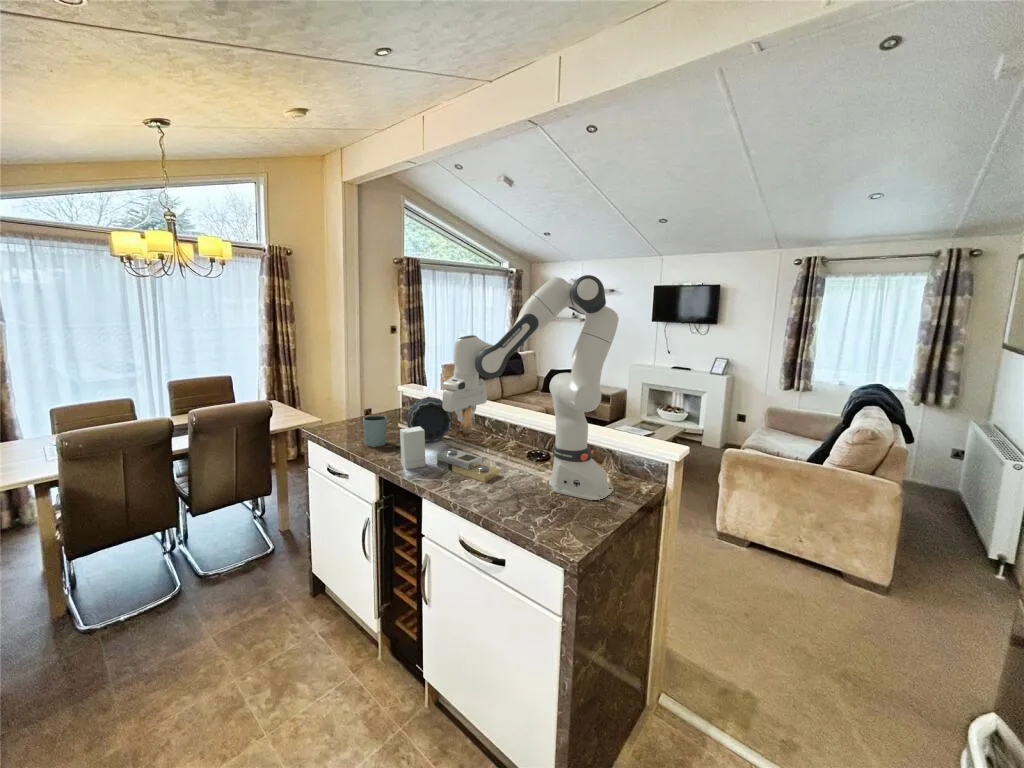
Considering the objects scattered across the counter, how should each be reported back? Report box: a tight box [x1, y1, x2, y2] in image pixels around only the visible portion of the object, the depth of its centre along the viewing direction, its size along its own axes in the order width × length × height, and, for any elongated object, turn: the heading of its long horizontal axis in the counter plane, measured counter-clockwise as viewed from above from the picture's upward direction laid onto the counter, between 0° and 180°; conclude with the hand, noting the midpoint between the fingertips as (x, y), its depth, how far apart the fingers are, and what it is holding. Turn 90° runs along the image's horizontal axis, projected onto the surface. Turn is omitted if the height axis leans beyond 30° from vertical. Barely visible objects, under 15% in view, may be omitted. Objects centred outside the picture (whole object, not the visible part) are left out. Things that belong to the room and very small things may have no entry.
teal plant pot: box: [362, 414, 388, 448], centre depth 193 cm, size 10×10×12 cm
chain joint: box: [436, 448, 500, 483], centre depth 165 cm, size 24×8×6 cm, turn 53°
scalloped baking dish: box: [406, 396, 453, 443], centre depth 199 cm, size 11×20×20 cm, turn 107°
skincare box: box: [399, 426, 427, 471], centre depth 168 cm, size 8×6×15 cm
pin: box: [459, 405, 472, 432], centre depth 158 cm, size 4×4×9 cm
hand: (465, 419), depth 158 cm, fingers closed on pin, 4 cm apart
